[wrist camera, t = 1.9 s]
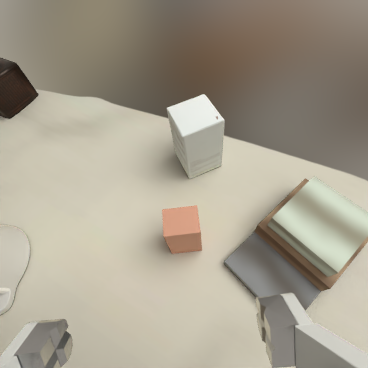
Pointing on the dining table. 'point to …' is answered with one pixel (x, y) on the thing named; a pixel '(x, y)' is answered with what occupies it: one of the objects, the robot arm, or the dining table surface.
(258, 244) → the build plinth
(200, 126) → the supplement box
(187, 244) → the block
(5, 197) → the dining table surface
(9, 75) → the manual coffee grinder
